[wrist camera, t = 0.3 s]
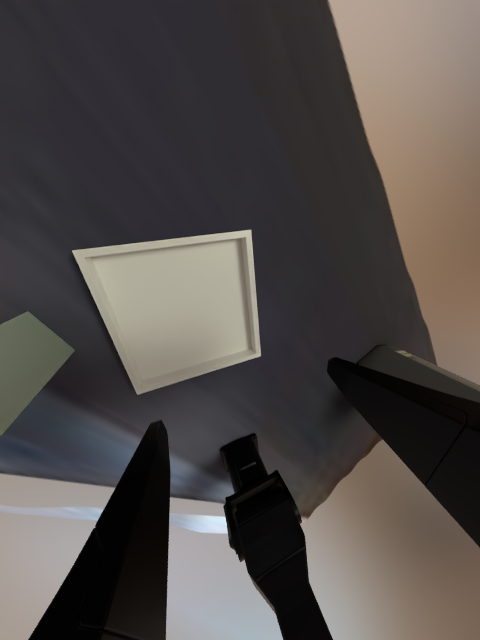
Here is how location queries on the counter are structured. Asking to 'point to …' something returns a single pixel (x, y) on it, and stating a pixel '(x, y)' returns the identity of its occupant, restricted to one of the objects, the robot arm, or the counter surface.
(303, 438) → the counter surface
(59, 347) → the block
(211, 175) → the counter surface
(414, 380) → the liquor
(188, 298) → the tray
